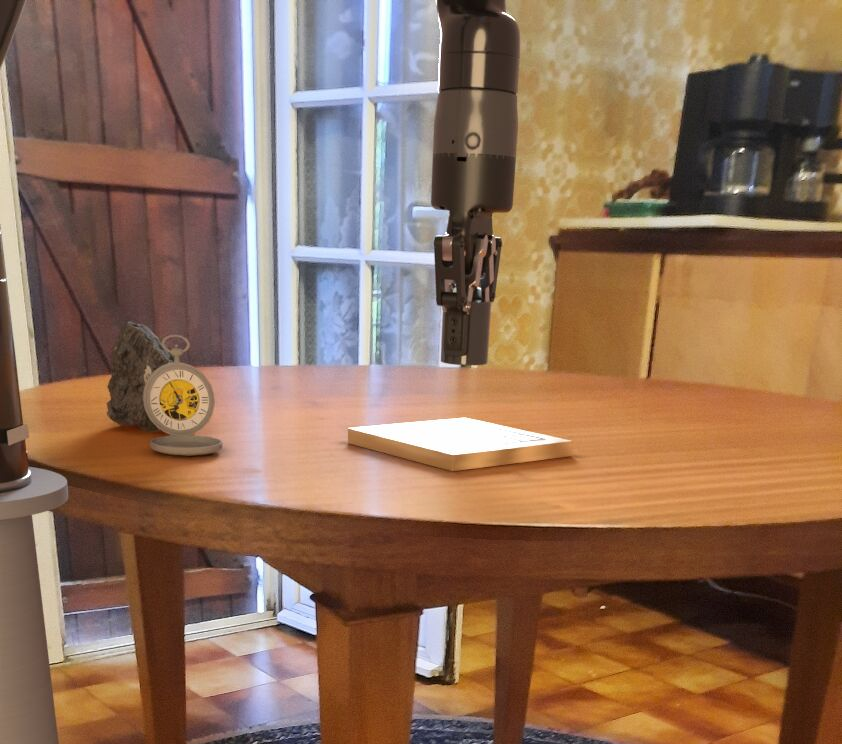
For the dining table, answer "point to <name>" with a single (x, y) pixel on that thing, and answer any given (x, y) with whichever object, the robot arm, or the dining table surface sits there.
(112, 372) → the rock
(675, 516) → the dining table surface
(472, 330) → the cylinder
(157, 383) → the pocket watch
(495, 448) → the board
